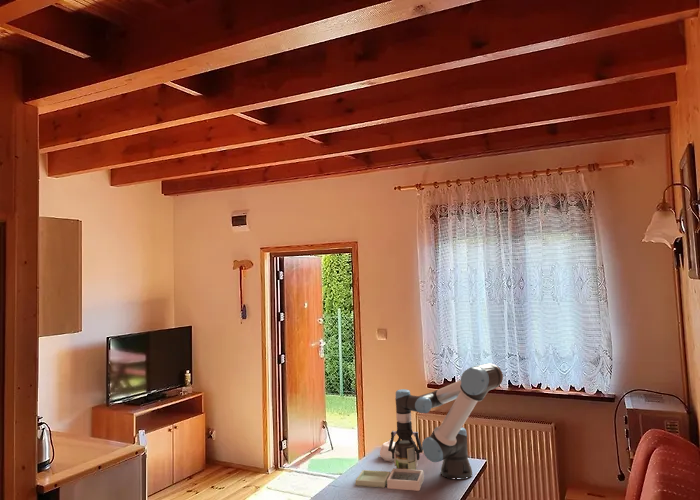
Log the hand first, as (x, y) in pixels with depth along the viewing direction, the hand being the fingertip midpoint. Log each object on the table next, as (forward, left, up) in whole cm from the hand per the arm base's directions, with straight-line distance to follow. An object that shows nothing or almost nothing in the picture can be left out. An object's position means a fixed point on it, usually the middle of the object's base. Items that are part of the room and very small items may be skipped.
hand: (406, 465), depth 266 cm
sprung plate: (-2, +15, -1) cm, 15 cm away
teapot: (+11, -18, -3) cm, 22 cm away
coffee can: (0, 0, -3) cm, 3 cm away
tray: (+14, +15, -3) cm, 20 cm away
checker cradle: (-2, +15, -3) cm, 15 cm away
